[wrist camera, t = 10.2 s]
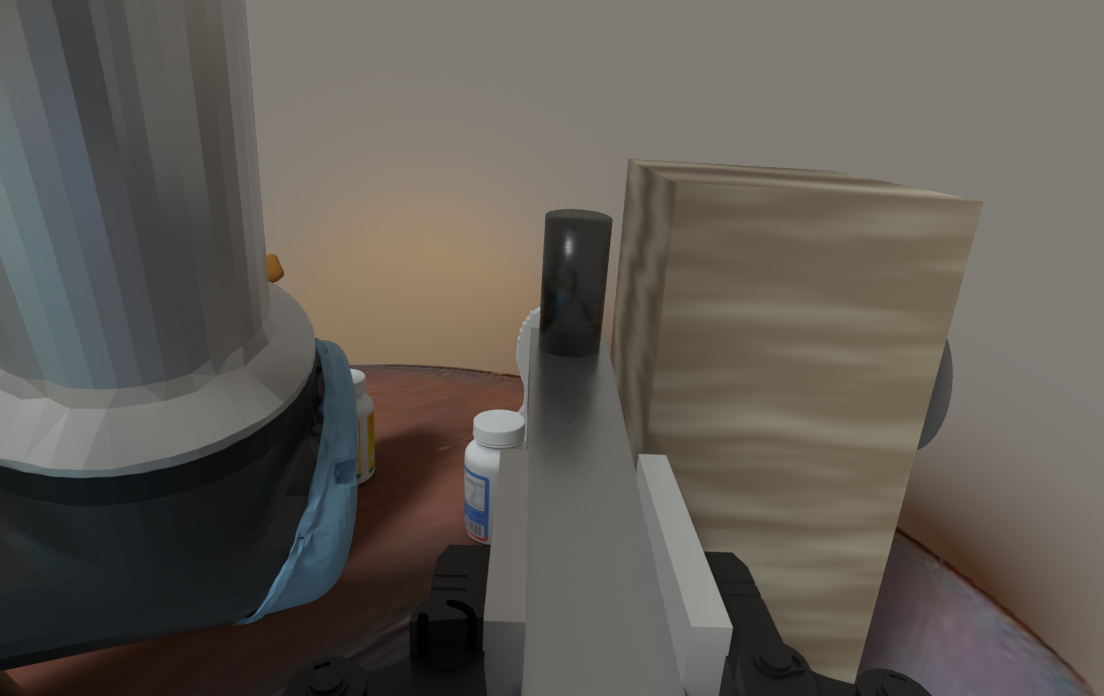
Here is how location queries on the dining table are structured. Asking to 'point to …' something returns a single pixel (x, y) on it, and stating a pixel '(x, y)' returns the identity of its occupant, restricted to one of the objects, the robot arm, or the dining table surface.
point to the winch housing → (789, 370)
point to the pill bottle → (488, 467)
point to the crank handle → (585, 494)
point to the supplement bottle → (364, 429)
